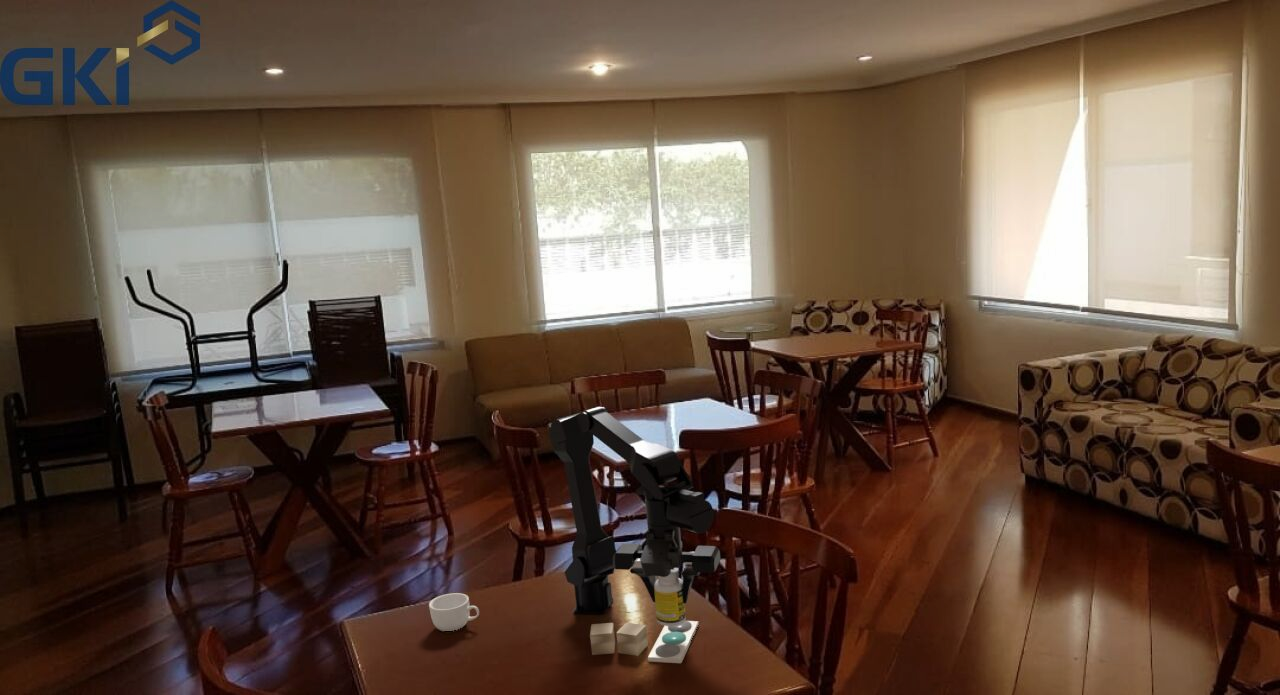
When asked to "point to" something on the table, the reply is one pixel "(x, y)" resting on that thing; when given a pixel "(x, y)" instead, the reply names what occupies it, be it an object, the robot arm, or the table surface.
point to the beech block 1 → (602, 638)
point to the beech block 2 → (632, 639)
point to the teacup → (451, 611)
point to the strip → (673, 643)
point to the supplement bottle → (669, 599)
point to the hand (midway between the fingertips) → (670, 601)
